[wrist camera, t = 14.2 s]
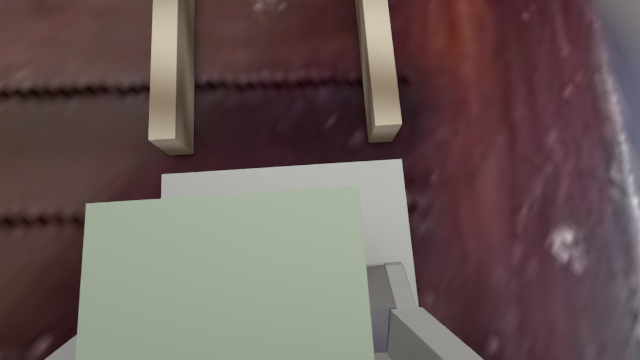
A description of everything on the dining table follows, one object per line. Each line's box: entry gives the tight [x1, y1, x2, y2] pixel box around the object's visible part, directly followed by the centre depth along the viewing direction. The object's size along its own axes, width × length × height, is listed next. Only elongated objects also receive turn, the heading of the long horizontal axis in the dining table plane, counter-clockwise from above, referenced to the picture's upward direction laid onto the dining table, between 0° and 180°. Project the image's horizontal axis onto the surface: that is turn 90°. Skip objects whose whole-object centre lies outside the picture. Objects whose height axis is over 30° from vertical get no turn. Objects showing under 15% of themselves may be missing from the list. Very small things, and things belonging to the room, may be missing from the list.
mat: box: [161, 159, 419, 360], centre depth 18 cm, size 12×12×1 cm
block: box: [75, 186, 375, 360], centre depth 11 cm, size 5×5×10 cm
